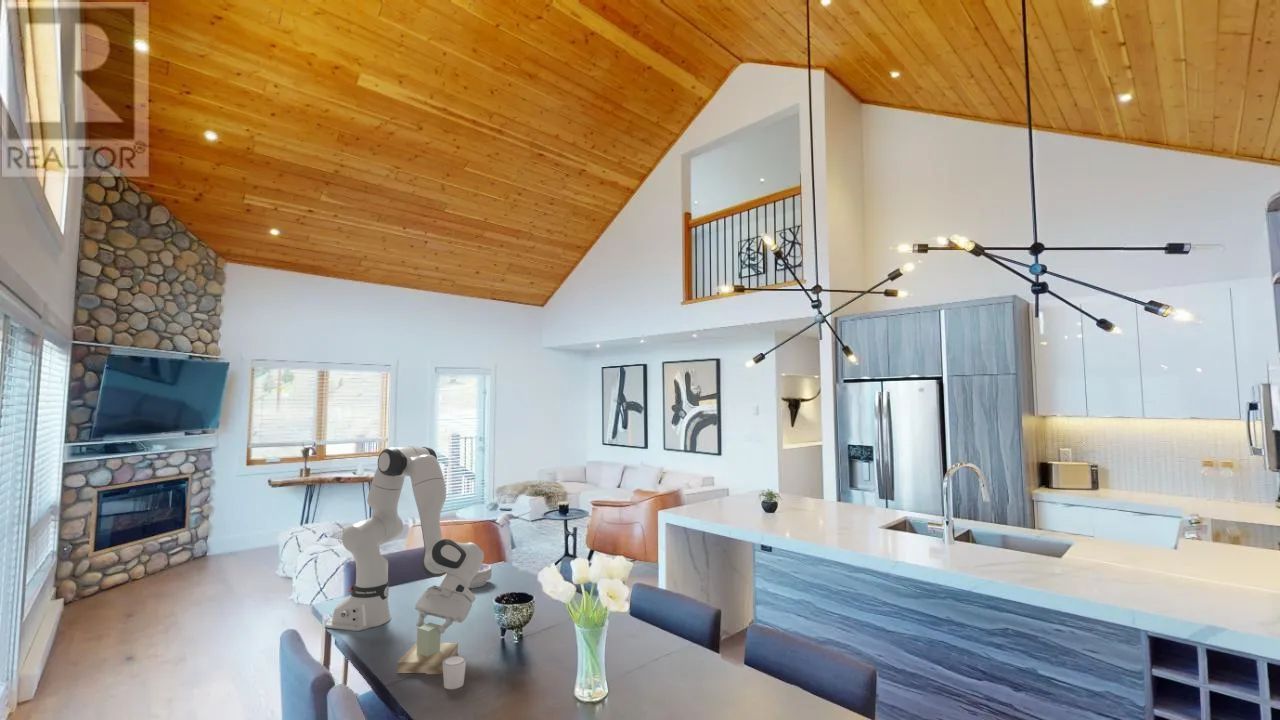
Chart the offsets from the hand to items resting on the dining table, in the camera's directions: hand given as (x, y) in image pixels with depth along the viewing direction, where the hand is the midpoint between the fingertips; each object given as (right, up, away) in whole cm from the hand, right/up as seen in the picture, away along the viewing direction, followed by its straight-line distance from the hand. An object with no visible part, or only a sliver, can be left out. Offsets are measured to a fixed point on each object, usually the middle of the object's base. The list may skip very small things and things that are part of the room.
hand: (429, 629), depth 181 cm
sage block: (0, -7, -1) cm, 7 cm away
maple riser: (0, -11, -1) cm, 11 cm away
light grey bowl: (-8, -16, +75) cm, 77 cm away
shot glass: (+13, -10, -14) cm, 21 cm away
